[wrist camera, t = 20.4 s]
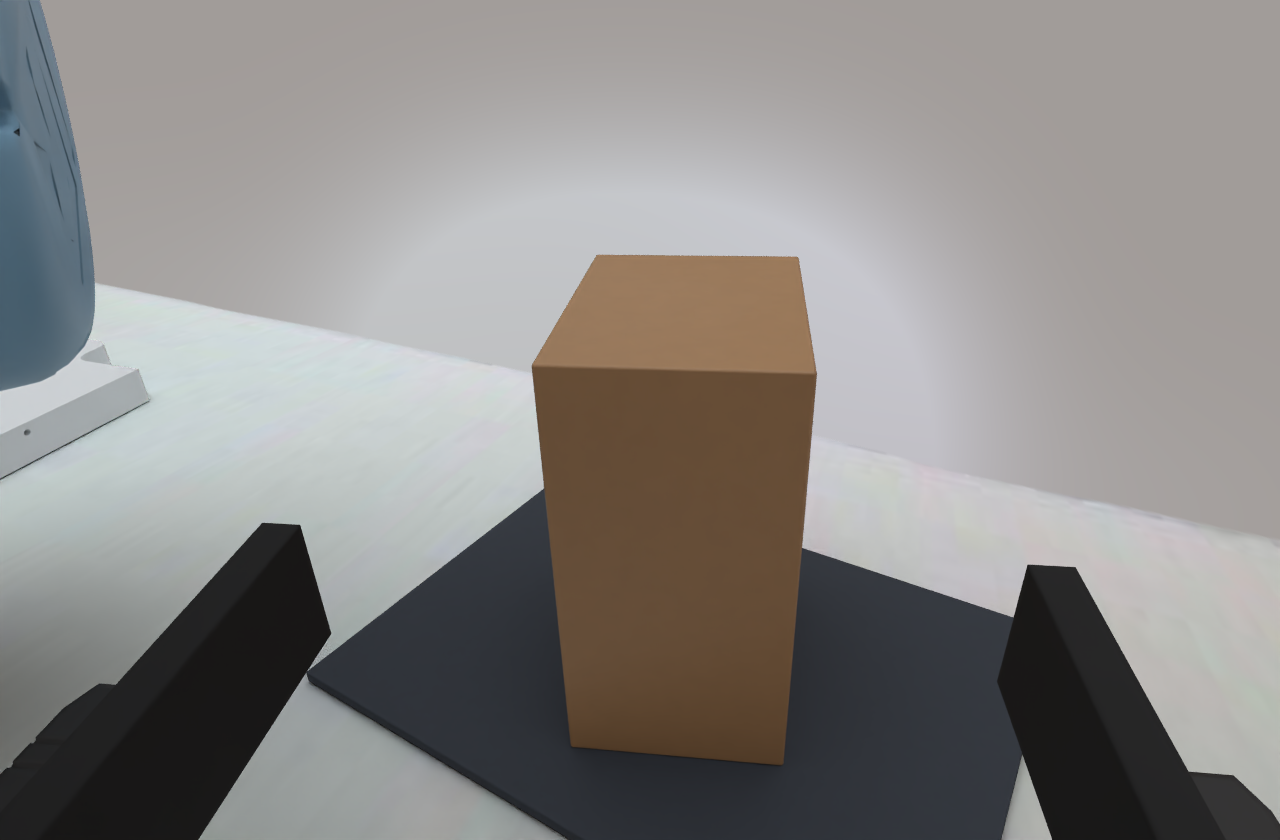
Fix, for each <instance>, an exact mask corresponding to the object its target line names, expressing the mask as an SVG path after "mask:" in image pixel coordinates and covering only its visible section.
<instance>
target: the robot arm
mask: <svg viewBox="0 0 1280 840" xmlns="http://www.w3.org/2000/svg"><path fill="white" fill-rule="evenodd" d="M94 312H95V282H94V266H93V255H92V246H91V237H90V230H89V223H88V217H87V211H86V206H85V199H84V192H83V186H82V181H81V174H80V168H79V163H78V158H77V153H76V148H75V143H74V138H73V134H72V128H71V123H70V118H69V114H68V109H67V105H66V101H65V96H64V91H63V87H62V83H61V79H60V75H59V70H58V66H57V62H56V58H55V54H54V50H53V46H52V43H51V39H50V35H49V32H48V28H47V24H46V21H45V17H44V13H43V10H42V7H41V3H40V0H0V391H3V390H8V389H12V388H16V387H21V386H25V385H29V384H33V383H37V382H41V381H43V380H45V379H47V378H49V377H51V376H53V375H55V374H56V372H57V371H59V370H60V369H62V368H63V367H65V366H66V365H68V364H69V363H70V362H71V361H72V360H73V359H74V358H75V357H76V355H77V354H78V353H79V352H80V351H81V350H82V349H83V348H84V347H85V345H86V343H87V340H88V338H89V335H90V333H91V330H92V326H93V319H94ZM330 635H331V631H330V628H329V624H328V621H327V617H326V614H325V610H324V607H323V603H322V600H321V596H320V593H319V589H318V586H317V582H316V579H315V575H314V572H313V568H312V565H311V561H310V558H309V554H308V551H307V547H306V544H305V540H304V537H303V533H302V530H301V526H300V525H292V524H273V523H262V524H261V525H260V526H259V527H258V528H257V529H256V531H255V532H254V533H253V534H252V535H251V536H250V537H249V538H248V539H247V540H246V542H245V543H244V544H243V545H242V546H241V547H240V548H239V549H238V550H237V551H236V553H235V554H234V555H233V556H232V557H231V558H230V559H229V560H228V561H227V563H226V564H225V565H224V566H223V567H222V568H221V569H220V570H219V571H218V572H217V574H216V575H215V576H214V577H213V578H212V579H211V580H210V581H209V582H208V584H207V585H206V586H205V587H204V588H203V589H202V590H201V591H200V592H199V593H198V595H197V596H196V597H195V598H194V599H193V600H192V601H191V602H190V603H189V605H188V606H187V607H186V608H185V609H184V610H183V611H182V612H181V613H180V614H179V616H178V617H177V618H176V619H175V620H174V621H173V622H172V623H171V624H170V626H169V627H168V628H167V629H166V630H165V631H164V632H163V633H162V634H161V635H160V637H159V638H158V639H157V640H156V641H155V642H154V643H153V644H152V645H151V646H150V648H149V649H148V650H147V651H146V652H145V653H144V654H143V655H142V656H141V658H140V659H139V660H138V661H137V662H136V663H135V664H134V665H133V666H132V667H131V669H130V670H129V671H128V672H127V673H126V674H125V675H124V676H123V677H122V679H121V680H120V681H119V682H118V683H117V684H116V685H111V684H98V685H97V686H95V687H94V688H92V689H91V690H89V691H88V692H86V693H85V694H83V695H82V696H80V697H79V698H78V699H76V700H75V701H73V702H72V703H70V704H69V705H67V706H66V707H64V708H63V709H62V710H61V711H60V712H59V713H58V714H57V715H56V717H55V718H54V719H53V720H52V721H51V722H50V723H49V724H48V725H47V726H46V727H45V728H44V729H43V730H42V731H41V732H40V733H39V734H38V735H37V737H36V741H35V742H34V743H30V744H29V745H28V746H27V747H26V748H25V749H24V750H23V751H22V752H21V753H20V754H19V756H18V757H17V758H16V759H15V760H14V761H13V765H12V767H11V768H6V769H5V770H4V771H3V772H2V773H1V774H0V840H198V839H199V838H200V836H201V835H202V833H203V831H204V830H205V828H206V827H207V825H208V824H209V822H210V821H211V819H212V818H213V816H214V814H215V813H216V811H217V810H218V808H219V807H220V805H221V804H222V802H223V801H224V799H225V797H226V796H227V794H228V793H229V791H230V790H231V788H232V787H233V785H234V783H235V782H236V780H237V779H238V777H239V776H240V774H241V773H242V771H243V770H244V768H245V766H246V765H247V763H248V762H249V760H250V759H251V757H252V756H253V754H254V753H255V751H256V749H257V748H258V746H259V745H260V743H261V742H262V740H263V739H264V737H265V735H266V734H267V732H268V731H269V729H270V728H271V726H272V725H273V723H274V722H275V720H276V718H277V717H278V715H279V714H280V712H281V711H282V709H283V708H284V706H285V705H286V703H287V701H288V700H289V698H290V697H291V695H292V694H293V692H294V691H295V689H296V687H297V686H298V684H299V683H300V681H301V680H302V678H303V677H304V675H305V674H306V672H307V670H308V669H309V667H310V666H311V664H312V663H313V661H314V660H315V658H316V656H317V655H318V653H319V652H320V650H321V649H322V647H323V646H324V644H325V643H326V641H327V639H328V638H329V636H330ZM997 683H998V686H999V689H1000V692H1001V694H1002V697H1003V700H1004V703H1005V706H1006V709H1007V711H1008V714H1009V717H1010V720H1011V723H1012V726H1013V729H1014V731H1015V734H1016V737H1017V740H1018V743H1019V746H1020V749H1021V751H1022V754H1023V757H1024V760H1025V763H1026V766H1027V769H1028V771H1029V774H1030V777H1031V780H1032V783H1033V786H1034V789H1035V791H1036V794H1037V797H1038V800H1039V803H1040V806H1041V809H1042V811H1043V814H1044V817H1045V820H1046V823H1047V826H1048V829H1049V831H1050V834H1051V837H1052V840H1280V824H1279V822H1278V821H1277V819H1276V817H1275V816H1274V814H1273V813H1272V811H1271V810H1270V809H1268V808H1267V807H1266V806H1265V805H1264V804H1263V803H1262V802H1261V801H1260V800H1259V799H1258V798H1257V797H1256V796H1255V795H1254V794H1253V793H1252V792H1250V791H1249V790H1248V789H1247V788H1246V787H1245V786H1244V785H1243V784H1242V783H1241V782H1240V781H1239V780H1238V779H1237V778H1236V777H1235V776H1233V775H1222V774H1210V773H1198V772H1188V770H1187V768H1186V766H1185V765H1184V763H1183V761H1182V759H1181V757H1180V755H1179V754H1178V752H1177V750H1176V748H1175V746H1174V745H1173V743H1172V741H1171V739H1170V737H1169V736H1168V734H1167V732H1166V730H1165V728H1164V727H1163V725H1162V723H1161V721H1160V719H1159V717H1158V716H1157V714H1156V712H1155V710H1154V708H1153V707H1152V705H1151V703H1150V701H1149V699H1148V698H1147V696H1146V694H1145V692H1144V690H1143V689H1142V687H1141V685H1140V683H1139V681H1138V680H1137V678H1136V676H1135V674H1134V672H1133V670H1132V669H1131V667H1130V665H1129V663H1128V661H1127V660H1126V658H1125V656H1124V654H1123V652H1122V651H1121V649H1120V647H1119V645H1118V643H1117V642H1116V640H1115V638H1114V636H1113V634H1112V632H1111V631H1110V629H1109V627H1108V625H1107V623H1106V622H1105V620H1104V618H1103V616H1102V614H1101V613H1100V611H1099V609H1098V607H1097V605H1096V604H1095V602H1094V600H1093V598H1092V596H1091V594H1090V593H1089V591H1088V589H1087V587H1086V585H1085V584H1084V582H1083V580H1082V578H1081V576H1080V575H1079V573H1078V571H1077V569H1076V567H1061V566H1043V565H1027V569H1026V573H1025V577H1024V581H1023V584H1022V588H1021V592H1020V596H1019V600H1018V603H1017V607H1016V611H1015V615H1014V619H1013V622H1012V626H1011V630H1010V634H1009V638H1008V641H1007V645H1006V649H1005V653H1004V657H1003V660H1002V664H1001V668H1000V672H999V676H998V679H997Z"/></svg>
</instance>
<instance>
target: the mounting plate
mask: <svg viewBox="0 0 1280 840" xmlns="http://www.w3.org/2000/svg"><path fill="white" fill-rule="evenodd" d="M149 400H150V399H149V397H148V394H147V391H146V388H145V386H144V383H143V380H142V377H141V375H140V372H139V369H136V368H129V367H122V366H116V365H111V362H110V359H109V357H108V354H107V352H106V349H105V346H104V344H103V342H102V341H99V340H92V339H88V340H87V343H86V345H85V347H84V348H83V349H82V350H81V351H80V352H79V353H78V354H77V355H76V357H75V358H74V359H73V360H72V361H71V362H70V363H69V364H68V365H66V366H65V367H63V368H62V369H60V370H59V371H57V372H56V374H55V375H53V376H51V377H49V378H47V379H45V380H43V381H41V382H37V383H33V384H29V385H25V386H21V387H16V388H12V389H8V390H3V391H0V478H2V477H4V476H6V475H8V474H10V473H11V472H13V471H15V470H17V469H19V468H21V467H23V466H25V465H27V464H29V463H31V462H33V461H34V460H36V459H38V458H40V457H42V456H44V455H46V454H48V453H50V452H52V451H54V450H55V449H57V448H59V447H61V446H63V445H65V444H67V443H69V442H71V441H73V440H75V439H77V438H78V437H80V436H82V435H84V434H86V433H88V432H90V431H92V430H94V429H96V428H98V427H99V426H101V425H103V424H105V423H107V422H109V421H111V420H113V419H115V418H117V417H119V416H121V415H122V414H124V413H126V412H128V411H130V410H132V409H134V408H136V407H138V406H140V405H142V404H143V403H145V402H147V401H149Z"/></svg>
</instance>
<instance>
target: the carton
mask: <svg viewBox="0 0 1280 840" xmlns="http://www.w3.org/2000/svg"><path fill="white" fill-rule="evenodd" d="M532 374H533V384H534V393H535V403H536V413H537V422H538V432H539V442H540V452H541V461H542V471H543V481H544V490H545V500H546V510H547V519H548V529H549V539H550V549H551V558H552V568H553V578H554V587H555V597H556V607H557V617H558V626H559V636H560V646H561V655H562V665H563V675H564V684H565V694H566V704H567V714H568V723H569V733H570V743H571V746H572V747H579V748H590V749H602V750H613V751H624V752H635V753H647V754H658V755H669V756H681V757H692V758H703V759H714V760H726V761H737V762H748V763H759V764H771V765H783V763H784V751H785V740H786V728H787V716H788V705H789V693H790V681H791V670H792V658H793V646H794V635H795V623H796V611H797V600H798V588H799V576H800V565H801V553H802V541H803V530H804V518H805V506H806V495H807V483H808V471H809V460H810V448H811V436H812V424H813V412H814V401H815V400H814V399H815V390H816V389H815V388H816V377H817V372H816V366H815V361H814V353H813V347H812V341H811V334H810V328H809V322H808V315H807V309H806V302H805V296H804V290H803V284H802V277H801V271H800V265H799V259H798V257H769V256H768V257H767V256H766V257H765V256H763V257H762V256H665V255H596V257H595V259H594V261H593V262H592V264H591V266H590V267H589V269H588V271H587V273H586V274H585V276H584V278H583V279H582V281H581V283H580V284H579V286H578V288H577V289H576V291H575V293H574V294H573V296H572V298H571V300H570V301H569V303H568V305H567V307H566V308H565V310H564V311H563V313H562V315H561V317H560V318H559V320H558V322H557V323H556V325H555V327H554V329H553V330H552V332H551V334H550V335H549V337H548V339H547V340H546V342H545V344H544V346H543V347H542V349H541V351H540V352H539V354H538V356H537V358H536V359H535V361H534V362H533V364H532Z"/></svg>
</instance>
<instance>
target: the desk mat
mask: <svg viewBox="0 0 1280 840" xmlns="http://www.w3.org/2000/svg"><path fill="white" fill-rule="evenodd" d="M1013 619H1014V618H1013V617H1010V616H1007V615H1004V614H1001V613H998V612H995V611H992V610H989V609H985V608H982V607H979V606H976V605H973V604H970V603H967V602H964V601H961V600H958V599H955V598H952V597H949V596H946V595H943V594H940V593H937V592H934V591H931V590H928V589H925V588H922V587H919V586H916V585H913V584H910V583H907V582H904V581H901V580H897V579H894V578H891V577H888V576H885V575H882V574H879V573H876V572H873V571H870V570H867V569H864V568H861V567H858V566H855V565H852V564H849V563H846V562H843V561H840V560H837V559H834V558H831V557H828V556H825V555H822V554H819V553H816V552H813V551H810V550H806V549H803V548H802V553H801V565H800V576H799V588H798V600H797V611H796V623H795V635H794V646H793V658H792V670H791V681H790V693H789V705H788V716H787V728H786V740H785V751H784V763H783V765H771V764H759V763H748V762H737V761H726V760H714V759H703V758H692V757H681V756H669V755H658V754H647V753H635V752H624V751H613V750H602V749H590V748H579V747H572V746H571V743H570V733H569V723H568V714H567V704H566V694H565V684H564V675H563V665H562V655H561V646H560V636H559V626H558V617H557V607H556V597H555V587H554V578H553V568H552V558H551V549H550V539H549V529H548V519H547V510H546V500H545V490H544V489H543V490H542V491H540V492H539V493H538V494H536V495H535V496H534V497H533V498H531V499H530V500H529V501H527V502H526V503H525V504H523V505H522V506H521V507H520V508H518V509H517V510H516V511H514V512H513V513H512V514H511V515H509V516H508V517H507V518H505V519H504V520H503V521H501V522H500V523H499V524H498V525H496V526H495V527H494V528H492V529H491V530H490V531H489V532H487V533H486V534H485V535H483V536H482V537H481V538H479V539H478V540H477V541H476V542H474V543H473V544H472V545H470V546H469V547H468V548H466V549H465V550H464V551H463V552H461V553H460V554H459V555H457V556H456V557H455V558H454V559H452V560H451V561H450V562H448V563H447V564H446V565H444V566H443V567H442V568H441V569H439V570H438V571H437V572H435V573H434V574H433V575H432V576H430V577H429V578H428V579H426V580H425V581H424V582H422V583H421V584H420V585H419V586H417V587H416V588H415V589H413V590H412V591H411V592H410V593H408V594H407V595H406V596H404V597H403V598H402V599H400V600H399V601H398V602H397V603H395V604H394V605H393V606H391V607H390V608H389V609H388V610H386V611H385V612H384V613H382V614H381V615H380V616H378V617H377V618H376V619H375V620H373V621H372V622H371V623H369V624H368V625H367V626H366V627H364V628H363V629H362V630H360V631H359V632H358V633H356V634H355V635H354V636H353V637H351V638H350V639H349V640H347V641H346V642H345V643H343V644H342V645H341V646H340V647H338V648H337V649H336V650H334V651H333V652H332V653H331V654H329V655H328V656H327V657H325V658H324V659H323V660H321V661H320V662H319V663H318V664H316V665H315V666H314V667H312V668H311V669H310V670H309V671H307V672H306V673H307V677H308V680H309V681H310V682H312V683H313V684H315V685H317V686H318V687H320V688H322V689H323V690H325V691H327V692H328V693H330V694H332V695H333V696H335V697H336V698H338V699H340V700H341V701H343V702H345V703H346V704H348V705H350V706H351V707H353V708H355V709H356V710H358V711H360V712H361V713H363V714H364V715H366V716H368V717H369V718H371V719H373V720H374V721H376V722H378V723H379V724H381V725H383V726H384V727H386V728H388V729H389V730H391V731H392V732H394V733H396V734H397V735H399V736H401V737H402V738H404V739H406V740H407V741H409V742H411V743H412V744H414V745H416V746H417V747H419V748H420V749H422V750H424V751H425V752H427V753H429V754H430V755H432V756H434V757H435V758H437V759H439V760H440V761H442V762H444V763H445V764H447V765H449V766H450V767H452V768H453V769H455V770H457V771H458V772H460V773H462V774H463V775H465V776H467V777H468V778H470V779H472V780H473V781H475V782H477V783H478V784H480V785H481V786H483V787H485V788H486V789H488V790H490V791H491V792H493V793H495V794H496V795H498V796H500V797H501V798H503V799H505V800H506V801H508V802H509V803H511V804H513V805H514V806H516V807H518V808H519V809H521V810H523V811H524V812H526V813H528V814H529V815H531V816H533V817H534V818H536V819H537V820H539V821H541V822H542V823H544V824H546V825H547V826H549V827H551V828H552V829H554V830H556V831H557V832H559V833H561V834H562V835H564V836H565V837H567V838H569V839H570V840H1001V838H1002V834H1003V830H1004V826H1005V822H1006V817H1007V813H1008V809H1009V805H1010V801H1011V797H1012V793H1013V789H1014V785H1015V781H1016V777H1017V773H1018V769H1019V765H1020V761H1021V757H1022V751H1021V749H1020V746H1019V743H1018V740H1017V737H1016V734H1015V731H1014V729H1013V726H1012V723H1011V720H1010V717H1009V714H1008V711H1007V709H1006V706H1005V703H1004V700H1003V697H1002V694H1001V692H1000V689H999V686H998V683H997V679H998V676H999V672H1000V668H1001V664H1002V660H1003V657H1004V653H1005V649H1006V645H1007V641H1008V638H1009V634H1010V630H1011V626H1012V622H1013Z"/></svg>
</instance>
